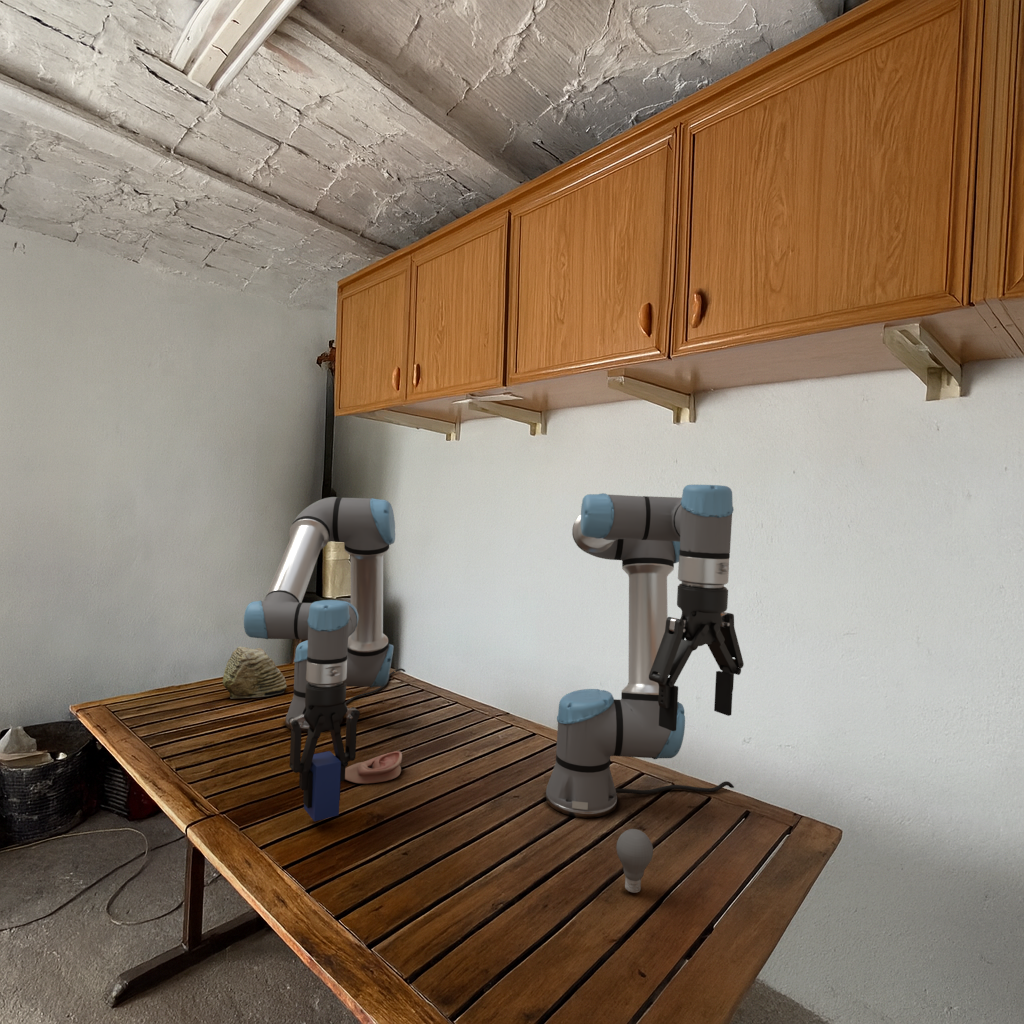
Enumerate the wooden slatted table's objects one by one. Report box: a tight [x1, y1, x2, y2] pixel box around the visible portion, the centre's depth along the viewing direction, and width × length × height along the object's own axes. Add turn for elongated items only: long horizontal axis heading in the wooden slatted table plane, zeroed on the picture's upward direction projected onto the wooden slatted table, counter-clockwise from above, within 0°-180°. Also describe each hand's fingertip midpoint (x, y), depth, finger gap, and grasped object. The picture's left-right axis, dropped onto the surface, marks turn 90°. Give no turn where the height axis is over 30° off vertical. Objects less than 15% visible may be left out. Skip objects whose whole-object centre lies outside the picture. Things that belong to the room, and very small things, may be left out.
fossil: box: [222, 646, 288, 699], centre depth 198 cm, size 9×18×15 cm, turn 132°
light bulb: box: [615, 828, 654, 894], centre depth 106 cm, size 6×6×10 cm
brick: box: [303, 750, 341, 822], centre depth 123 cm, size 5×6×10 cm
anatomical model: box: [344, 750, 403, 784], centre depth 146 cm, size 13×4×12 cm
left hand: (321, 801), depth 123 cm, fingers closed on brick, 5 cm apart
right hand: (696, 720), depth 99 cm, fingers open, 13 cm apart
